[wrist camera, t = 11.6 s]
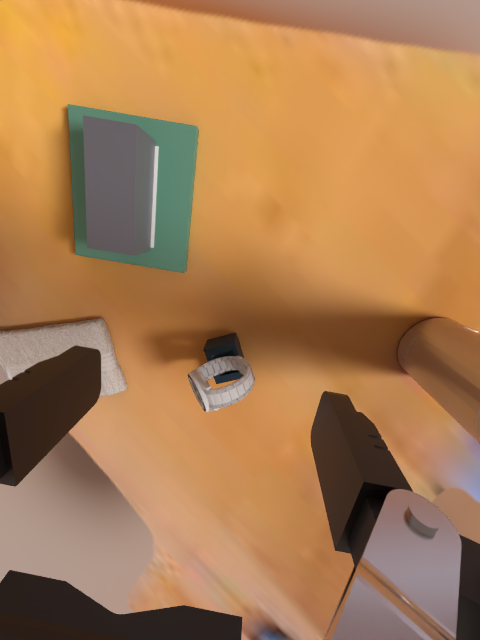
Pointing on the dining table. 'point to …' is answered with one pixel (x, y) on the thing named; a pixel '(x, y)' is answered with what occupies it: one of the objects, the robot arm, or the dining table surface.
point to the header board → (168, 189)
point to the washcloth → (61, 349)
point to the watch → (222, 374)
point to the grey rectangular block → (118, 186)
